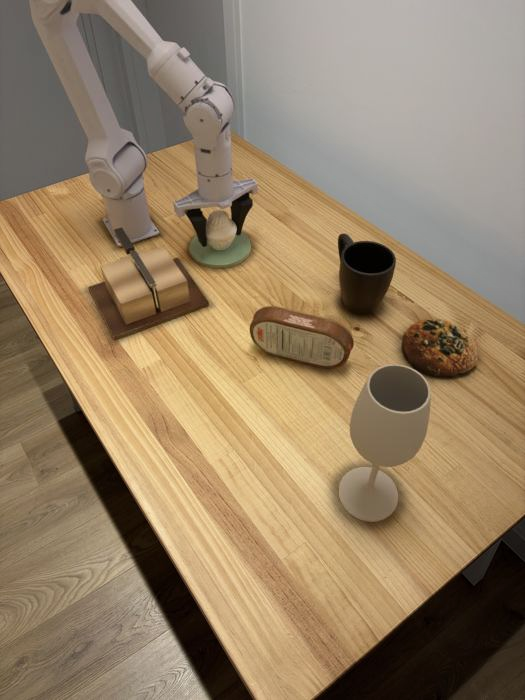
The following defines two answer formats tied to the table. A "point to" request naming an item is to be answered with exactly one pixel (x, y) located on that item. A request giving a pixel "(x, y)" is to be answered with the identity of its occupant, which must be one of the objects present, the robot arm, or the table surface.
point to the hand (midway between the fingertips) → (219, 238)
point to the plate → (221, 252)
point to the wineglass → (384, 438)
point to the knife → (137, 261)
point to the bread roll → (439, 348)
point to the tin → (301, 337)
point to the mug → (364, 273)
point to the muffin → (220, 230)
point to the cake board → (150, 321)
